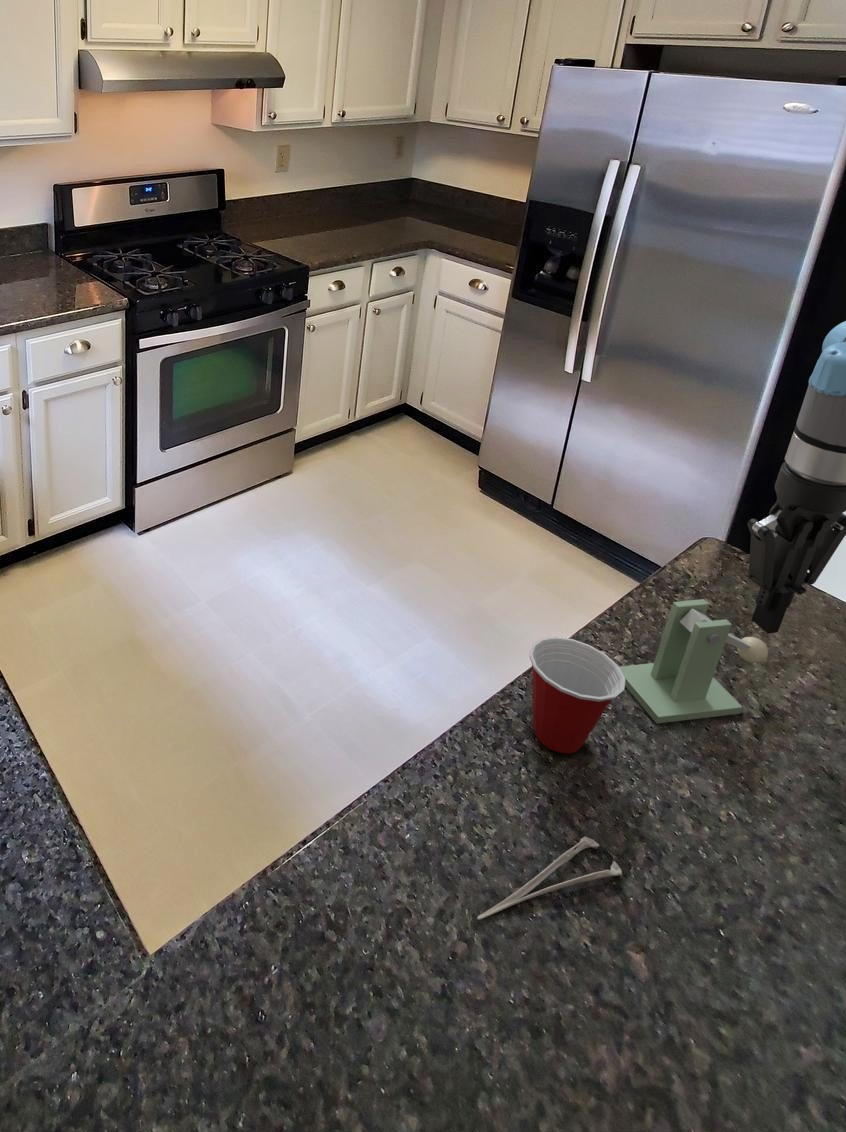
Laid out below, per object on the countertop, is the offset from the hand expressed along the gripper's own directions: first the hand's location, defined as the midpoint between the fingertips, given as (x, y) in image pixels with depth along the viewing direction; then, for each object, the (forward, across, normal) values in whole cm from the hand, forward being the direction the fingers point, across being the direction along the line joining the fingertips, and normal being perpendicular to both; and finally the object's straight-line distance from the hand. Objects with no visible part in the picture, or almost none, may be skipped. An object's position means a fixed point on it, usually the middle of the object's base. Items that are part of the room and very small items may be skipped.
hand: (764, 625), depth 105 cm
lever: (+3, +6, 0) cm, 6 cm away
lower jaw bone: (+10, +42, +23) cm, 49 cm away
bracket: (+10, +10, 0) cm, 14 cm away
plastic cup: (+10, +29, +4) cm, 31 cm away
